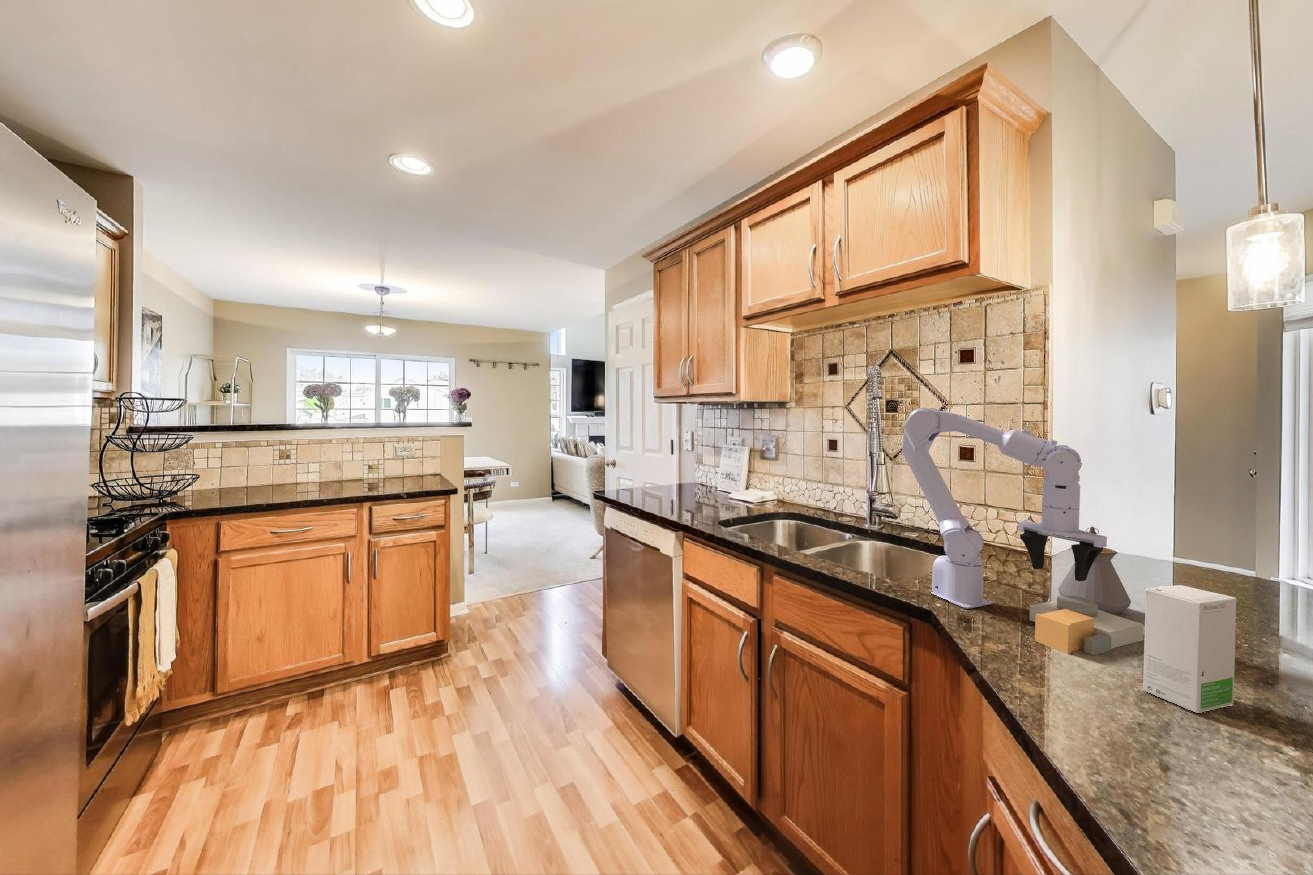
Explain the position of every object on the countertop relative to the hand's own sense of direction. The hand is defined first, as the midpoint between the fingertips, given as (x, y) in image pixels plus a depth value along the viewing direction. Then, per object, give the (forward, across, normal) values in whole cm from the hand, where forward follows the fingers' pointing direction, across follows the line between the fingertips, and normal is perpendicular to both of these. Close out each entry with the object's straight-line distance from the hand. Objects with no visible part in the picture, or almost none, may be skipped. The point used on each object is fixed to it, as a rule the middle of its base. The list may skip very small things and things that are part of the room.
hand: (1058, 574), depth 96 cm
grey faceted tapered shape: (+10, -4, +18) cm, 21 cm away
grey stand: (+9, +5, -2) cm, 11 cm away
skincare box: (+10, +24, -12) cm, 28 cm away
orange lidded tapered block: (+10, +7, -9) cm, 15 cm away
